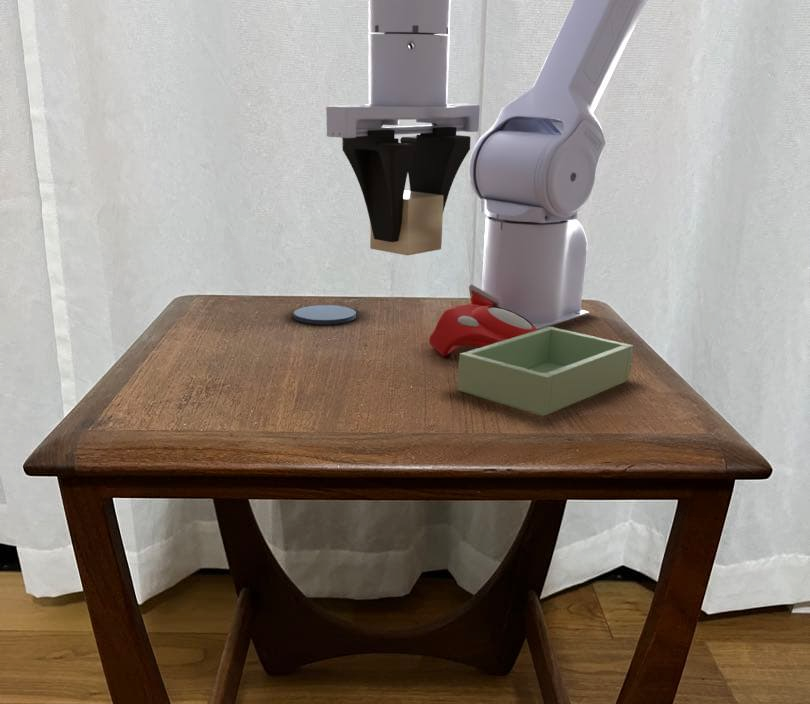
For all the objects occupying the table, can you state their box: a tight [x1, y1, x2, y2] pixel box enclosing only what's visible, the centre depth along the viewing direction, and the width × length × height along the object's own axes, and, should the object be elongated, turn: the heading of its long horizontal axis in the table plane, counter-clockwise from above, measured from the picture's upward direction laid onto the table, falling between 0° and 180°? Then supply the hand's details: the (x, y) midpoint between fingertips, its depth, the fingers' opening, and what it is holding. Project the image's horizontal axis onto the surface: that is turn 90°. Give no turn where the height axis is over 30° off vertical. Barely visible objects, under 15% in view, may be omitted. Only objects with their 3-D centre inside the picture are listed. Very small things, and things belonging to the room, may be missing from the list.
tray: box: [457, 326, 634, 417], centre depth 61 cm, size 11×7×3 cm
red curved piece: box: [428, 284, 537, 358], centre depth 70 cm, size 12×4×10 cm
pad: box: [293, 304, 357, 325], centre depth 79 cm, size 6×6×1 cm
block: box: [369, 189, 444, 256], centre depth 68 cm, size 4×4×4 cm
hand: (405, 237), depth 68 cm, fingers closed on block, 4 cm apart
